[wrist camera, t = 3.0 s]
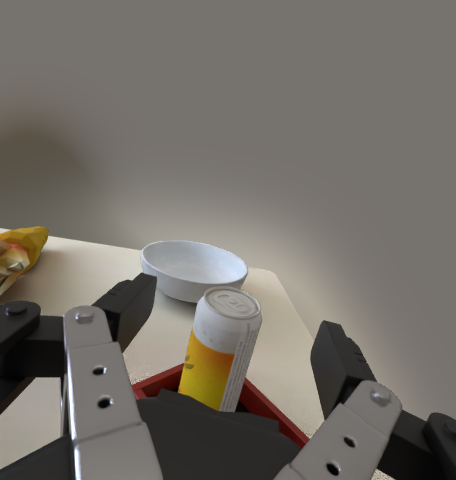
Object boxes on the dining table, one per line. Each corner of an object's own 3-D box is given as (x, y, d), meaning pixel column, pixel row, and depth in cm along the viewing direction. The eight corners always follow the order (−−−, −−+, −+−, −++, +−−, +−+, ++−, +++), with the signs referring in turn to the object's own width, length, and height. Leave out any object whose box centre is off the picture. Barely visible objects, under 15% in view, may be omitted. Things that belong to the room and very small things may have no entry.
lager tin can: (200, 390, 34) (227, 279, 30) (239, 426, 31) (277, 307, 26) (159, 420, 29) (185, 293, 25) (201, 467, 26) (239, 329, 22)
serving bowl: (227, 271, 70) (233, 245, 68) (253, 322, 51) (263, 288, 49) (139, 261, 64) (143, 233, 62) (132, 315, 45) (137, 276, 43)
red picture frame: (126, 412, 29) (130, 385, 28) (210, 370, 37) (216, 348, 36) (225, 587, 19) (237, 555, 18) (311, 477, 27) (323, 451, 26)
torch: (45, 263, 61) (-18, 317, 38) (8, 242, 58) (-85, 287, 35) (68, 232, 61) (20, 269, 38) (32, 210, 58) (-44, 234, 35)
